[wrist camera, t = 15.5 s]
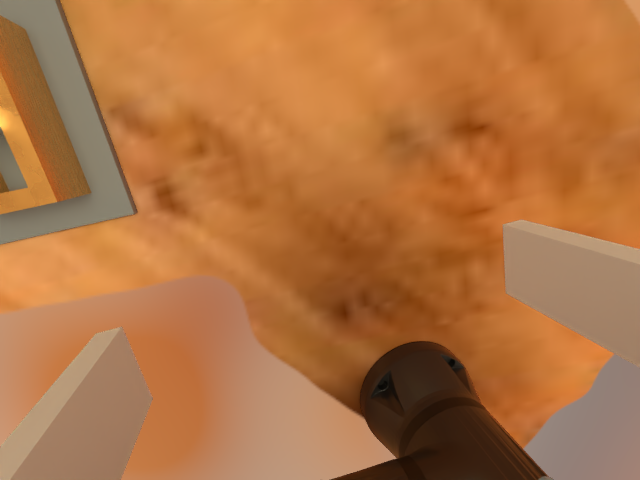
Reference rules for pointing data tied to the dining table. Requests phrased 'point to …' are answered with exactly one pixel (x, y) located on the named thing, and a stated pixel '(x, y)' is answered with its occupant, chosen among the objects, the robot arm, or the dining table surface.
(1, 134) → the hook
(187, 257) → the dining table surface
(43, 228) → the keeper plate
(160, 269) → the dining table surface
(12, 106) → the framed display niche
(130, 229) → the dining table surface
